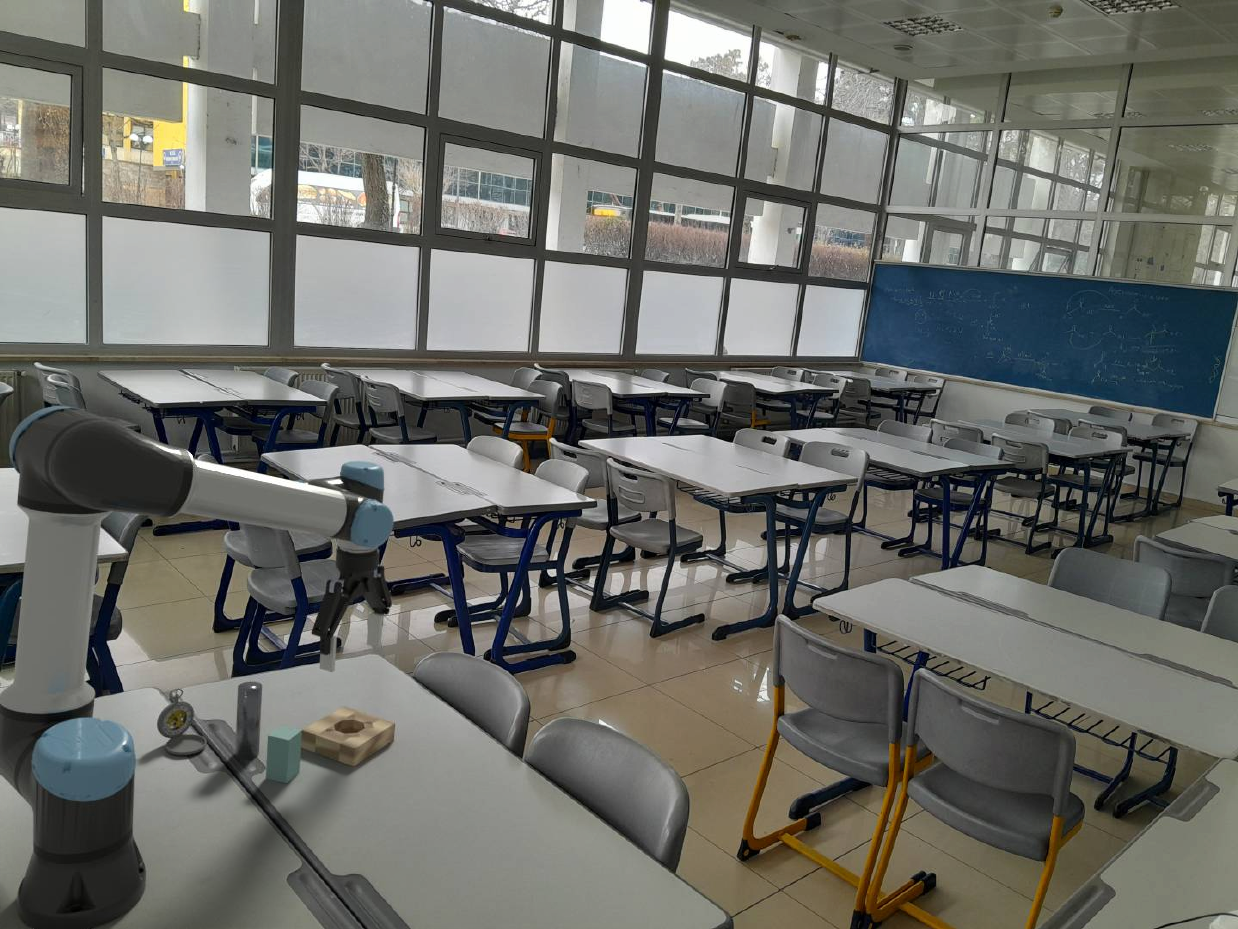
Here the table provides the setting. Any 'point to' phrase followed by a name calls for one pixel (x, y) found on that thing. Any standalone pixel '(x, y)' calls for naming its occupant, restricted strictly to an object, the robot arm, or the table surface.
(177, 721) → the pocket watch
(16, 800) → the table surface
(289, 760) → the square bit
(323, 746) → the socket block
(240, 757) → the cylinder
